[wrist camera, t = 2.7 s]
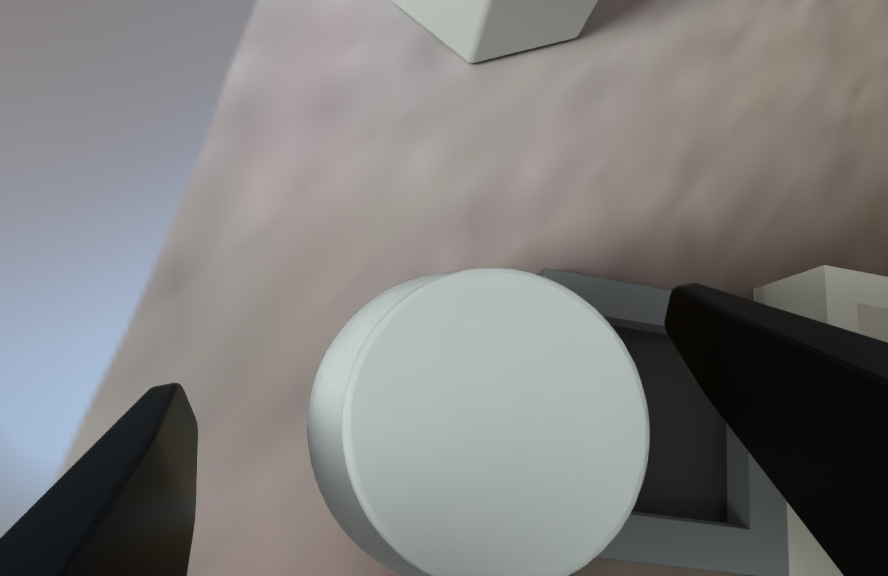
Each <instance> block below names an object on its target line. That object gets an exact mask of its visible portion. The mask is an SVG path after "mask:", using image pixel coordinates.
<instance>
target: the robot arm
mask: <svg viewBox="0 0 888 576" xmlns="http://www.w3.org/2000/svg"><path fill="white" fill-rule="evenodd" d="M664 325H665V329H666V332H667V334H668V336H669V338H670V339H671V341H672V342H673V344H674V346H675V347H676V349H677V350H678V352H679V354H680V355H681V357H682V359H683V360H684V362H685V363H686V365H687V367H688V368H689V370H690V372H691V373H692V375H693V376H694V378H695V380H696V381H697V383H698V385H699V386H700V388H701V389H702V391H703V392H704V394H705V395H706V397H707V398H708V399H709V401H710V402H711V403H712V405H713V406H714V407H715V409H716V410H717V411H718V413H719V414H720V415H721V417H722V418H723V419H724V420H725V422H726V423H727V424H728V426H729V427H730V428H731V430H732V431H733V432H734V434H735V435H736V436H737V437H738V439H739V440H740V441H741V443H742V444H743V445H744V447H745V448H746V449H747V450H748V452H749V453H750V454H751V456H752V457H753V458H754V460H755V461H756V462H757V464H758V465H759V466H760V467H761V469H762V470H763V471H764V473H765V474H766V475H767V477H768V478H769V479H770V480H771V482H772V483H773V484H774V486H775V487H776V488H777V490H778V491H779V492H780V494H781V495H782V496H783V497H784V499H785V500H786V501H787V503H788V504H789V505H790V507H791V508H792V509H793V510H794V512H795V513H796V514H797V516H798V517H799V518H800V520H801V521H802V522H803V524H804V525H805V526H806V527H807V529H808V530H809V531H810V533H811V534H812V535H813V537H814V538H815V539H816V540H817V542H818V543H819V544H820V546H821V547H822V548H823V550H824V551H825V552H826V553H827V555H828V556H829V557H830V559H831V560H832V561H833V563H834V564H835V565H836V567H837V568H838V569H839V570H840V572H841V573H842V574H843V576H888V342H885V341H881V340H878V339H875V338H872V337H869V336H865V335H862V334H859V333H856V332H852V331H849V330H846V329H843V328H839V327H836V326H833V325H830V324H827V323H823V322H820V321H817V320H814V319H810V318H807V317H804V316H801V315H797V314H794V313H791V312H788V311H785V310H781V309H778V308H775V307H772V306H768V305H765V304H762V303H759V302H755V301H752V300H749V299H746V298H742V297H739V296H736V295H733V294H730V293H726V292H723V291H720V290H717V289H713V288H710V287H707V286H704V285H700V284H697V283H689V284H684V285H679V286H676V287H674V288H673V289H672V291H671V293H670V297H669V302H668V306H667V311H666V315H665V320H664ZM197 444H198V428H197V422H196V418H195V415H194V413H193V411H192V408H191V406H190V403H189V401H188V399H187V396H186V394H185V391H184V389H183V387H182V386H181V385H180V384H178V383H170V384H165V385H160V386H155V387H152V388H150V389H149V390H148V391H147V392H146V393H145V394H144V395H143V396H142V397H141V398H140V399H139V400H138V401H137V402H136V403H135V404H134V405H133V406H132V407H131V408H130V409H129V410H128V411H127V412H126V413H125V414H124V415H123V416H122V417H121V418H120V419H119V420H118V421H117V422H116V423H115V424H114V425H113V426H112V427H111V428H110V429H109V430H108V431H107V432H106V433H105V434H104V435H103V436H102V437H101V438H100V439H99V440H98V441H97V442H96V443H95V444H94V445H93V446H92V447H91V448H90V449H89V450H88V451H87V452H86V453H85V454H84V455H83V456H82V457H81V458H80V459H79V460H78V461H77V462H76V463H75V464H74V465H73V466H72V467H71V468H70V469H69V470H68V471H67V472H66V473H65V474H64V475H63V476H62V477H61V478H60V479H59V480H58V481H57V482H56V483H55V484H54V485H53V486H52V487H51V488H50V489H49V490H48V491H47V492H46V493H45V494H44V495H43V496H42V497H41V498H40V499H39V500H38V501H37V502H36V503H35V504H34V505H33V506H32V507H31V508H30V509H29V510H28V511H27V512H26V513H25V514H24V515H23V516H22V517H21V518H20V519H19V520H18V521H17V522H16V523H15V524H14V525H13V526H12V527H11V528H10V529H9V530H8V531H7V532H6V533H5V534H4V535H3V536H2V537H1V538H0V576H187V570H188V563H189V557H190V550H191V544H192V537H193V530H194V522H195V509H196V479H197Z"/></svg>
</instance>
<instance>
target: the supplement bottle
mask: <svg viewBox="0 0 888 576" xmlns="http://www.w3.org/2000/svg"><path fill="white" fill-rule="evenodd" d="M307 433H308V445H309V452H310V458H311V464H312V467H313V471H314V474H315V478H316V481H317V484H318V487H319V489H320V492H321V494H322V496H323V498H324V501H325V503H326V504H327V506H328V508H329V510H330V511H331V513H332V515H333V516H334V518H335V519H336V521H337V522H338V523H339V525H340V526H341V527H342V529H343V530H344V531H345V532H346V534H347V535H348V536H349V537H350V538H351V539H352V540H353V541H354V542H355V543H356V544H357V545H358V546H359V547H360V548H361V549H362V550H363V551H365V552H366V553H367V554H369V555H370V556H371V557H372V558H374V559H375V560H376V561H378V562H379V563H381V564H383V565H384V566H386V567H388V568H389V569H391V570H394V571H396V572H398V573H400V574H402V575H404V576H568V575H570V574H572V573H574V572H576V571H578V570H579V569H581V568H582V567H584V566H586V565H587V564H588V563H589V562H590V561H591V560H592V559H593V558H595V557H596V556H597V555H598V554H600V553H601V552H602V551H603V550H604V549H605V548H606V547H607V546H608V544H609V543H610V542H611V541H612V540H613V539H614V538H615V536H616V535H617V534H618V533H619V531H620V530H621V529H622V527H623V525H624V523H625V522H626V520H627V518H628V517H629V515H630V513H631V511H632V509H633V507H634V505H635V503H636V501H637V498H638V495H639V493H640V490H641V487H642V484H643V481H644V477H645V473H646V468H647V463H648V455H649V446H650V426H649V414H648V406H647V401H646V396H645V393H644V389H643V386H642V383H641V380H640V377H639V373H638V370H637V368H636V365H635V363H634V361H633V359H632V357H631V356H630V354H629V352H628V350H627V348H626V346H625V344H624V343H623V341H622V340H621V338H620V337H619V335H618V334H617V333H616V331H615V330H614V329H613V327H612V326H611V325H610V324H609V323H608V322H607V320H606V319H605V318H604V317H603V316H602V315H601V314H600V313H599V312H598V311H597V310H596V309H595V308H594V307H593V306H592V305H590V304H589V303H588V302H587V301H586V300H584V299H583V298H582V297H580V296H579V295H577V294H576V293H575V292H573V291H572V290H570V289H568V288H566V287H565V286H563V285H561V284H559V283H557V282H555V281H552V280H550V279H548V278H545V277H543V276H540V275H537V274H534V273H530V272H526V271H522V270H517V269H511V268H502V267H482V268H473V269H467V270H462V271H458V272H446V273H435V274H430V275H426V276H422V277H418V278H414V279H411V280H409V281H406V282H403V283H401V284H399V285H397V286H395V287H393V288H391V289H389V290H387V291H385V292H383V293H382V294H380V295H378V296H377V297H375V298H374V299H373V300H371V301H370V302H369V303H367V304H366V305H365V306H364V307H363V308H362V309H360V310H359V311H358V312H357V313H356V314H355V315H354V316H353V317H352V318H351V319H350V320H349V321H348V323H347V324H346V325H345V326H344V327H343V329H342V330H341V331H340V332H339V333H338V335H337V336H336V338H335V339H334V341H333V342H332V344H331V345H330V347H329V348H328V350H327V352H326V354H325V356H324V358H323V360H322V362H321V364H320V367H319V369H318V372H317V375H316V378H315V381H314V384H313V388H312V392H311V397H310V402H309V410H308V423H307Z"/></svg>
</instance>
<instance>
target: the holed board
mask: <svg viewBox="0 0 888 576" xmlns="http://www.w3.org/2000/svg"><path fill="white" fill-rule="evenodd" d="M537 275H540V276H543V277H545V278H548V279H550V280H552V281H555V282H557V283H559V284H561V285H563V286H565V287H566V288H568V289H570V290H572V291H573V292H575V293H576V294H577V295H579V296H580V297H582V298H583V299H584V300H586V301H587V302H588V303H589V304H590V305H592V306H593V307H594V308H595V309H596V310H597V311H598V312H599V313H600V314H601V315H602V316H603V317H604V318H605V319H606V320H607V322H608V323H609V324H610V325H611V326H612V327H613V329H614V330H615V331H616V333H617V334H618V335H619V337H620V338H621V340H622V341H623V343H624V344H625V346H626V348H627V350H628V352H629V354H630V356H631V357H632V359H633V361H634V363H635V365H636V368H637V370H638V373H639V377H640V380H641V383H642V386H643V389H644V393H645V396H646V401H647V406H648V414H649V426H650V446H649V455H648V463H647V468H646V473H645V477H644V481H643V484H642V487H641V490H640V493H639V495H638V498H637V501H636V503H635V505H634V507H633V509H632V511H631V513H630V515H629V517H628V518H627V520H626V522H625V523H624V525H623V527H622V529H621V530H620V531H619V533H618V534H617V535H616V536H615V538H614V539H613V540H612V541H611V542H610V543H609V544H608V546H607V547H606V548H605V549H604V550H603V551H602V552H601V553H600V554H598V555H597V556H596V557H598V558H606V559H615V560H624V561H632V562H641V563H650V564H658V565H667V566H676V567H684V568H693V569H702V570H710V571H719V572H728V573H736V574H745V575H754V576H789V553H788V526H787V501H786V500H785V499H784V497H783V496H782V495H781V494H780V492H779V491H778V490H777V488H776V487H775V486H774V484H773V483H772V482H771V480H770V479H769V478H768V477H767V475H766V474H765V473H764V471H763V470H762V469H761V467H760V466H759V465H758V464H757V462H756V461H755V460H754V458H753V457H752V456H751V454H750V453H749V452H748V450H747V449H746V448H745V447H744V445H743V444H742V443H741V441H740V440H739V439H738V437H737V436H736V435H735V434H734V432H733V431H732V430H731V428H730V427H729V426H728V424H727V423H726V422H725V420H724V419H723V418H722V417H721V415H720V414H719V413H718V411H717V410H716V409H715V407H714V406H713V405H712V403H711V402H710V401H709V399H708V398H707V397H706V395H705V394H704V392H703V391H702V389H701V388H700V386H699V385H698V383H697V381H696V380H695V378H694V376H693V375H692V373H691V372H690V370H689V368H688V367H687V365H686V363H685V362H684V360H683V359H682V357H681V355H680V354H679V352H678V350H677V349H676V347H675V346H674V344H673V342H672V341H671V339H670V338H669V336H668V334H667V332H666V329H665V325H664V320H665V315H666V311H667V306H668V302H669V297H670V293H671V291H672V290H666V289H661V288H655V287H649V286H644V285H638V284H632V283H627V282H621V281H615V280H610V279H604V278H598V277H593V276H587V275H581V274H576V273H570V272H565V271H559V270H553V269H548V268H544V269H543V270H541V271H540V272H539V273H538V274H537Z"/></svg>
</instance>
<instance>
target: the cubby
mask: <svg viewBox="0 0 888 576" xmlns="http://www.w3.org/2000/svg"><path fill="white" fill-rule="evenodd" d="M753 301H755V302H759V303H762V304H765V305H768V306H772V307H775V308H778V309H781V310H785V311H788V312H791V313H794V314H797V315H801V316H804V317H807V318H810V319H814V320H817V321H820V322H823V323H827V324H830V325H833V326H836V327H839V328H843V329H846V330H849V331H852V332H856V333H859V334H862V335H865V336H869V337H872V338H875V339H878V340H881V341H885V342H888V277H885V276H880V275H875V274H870V273H864V272H859V271H854V270H848V269H843V268H838V267H833V266H827V265H823V266H820V267H817V268H814V269H811V270H808V271H805V272H802V273H799V274H796V275H793V276H790V277H787V278H784V279H781V280H778V281H775V282H772V283H769V284H767V285H764V286H761V287H758V288H755V289H753ZM787 526H788V553H789V576H843V574H842V573H841V572H840V570H839V569H838V568H837V567H836V565H835V564H834V563H833V561H832V560H831V559H830V557H829V556H828V555H827V553H826V552H825V551H824V550H823V548H822V547H821V546H820V544H819V543H818V542H817V540H816V539H815V538H814V537H813V535H812V534H811V533H810V531H809V530H808V529H807V527H806V526H805V525H804V524H803V522H802V521H801V520H800V518H799V517H798V516H797V514H796V513H795V512H794V510H793V509H792V508H791V507H790V505H789V504H788V503H787Z"/></svg>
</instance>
